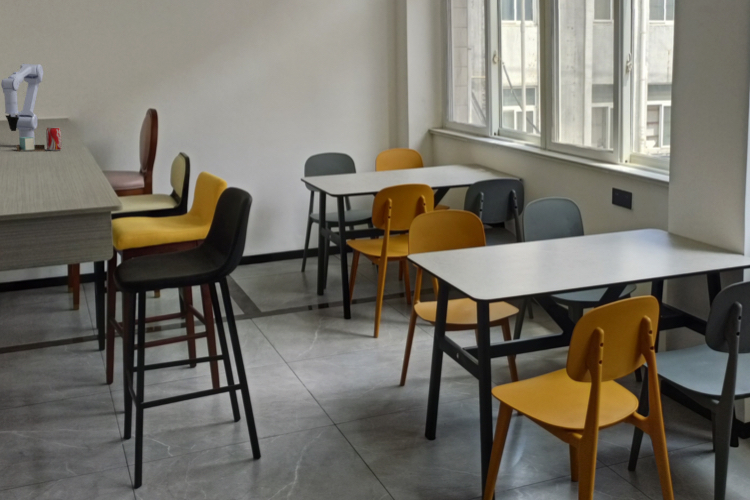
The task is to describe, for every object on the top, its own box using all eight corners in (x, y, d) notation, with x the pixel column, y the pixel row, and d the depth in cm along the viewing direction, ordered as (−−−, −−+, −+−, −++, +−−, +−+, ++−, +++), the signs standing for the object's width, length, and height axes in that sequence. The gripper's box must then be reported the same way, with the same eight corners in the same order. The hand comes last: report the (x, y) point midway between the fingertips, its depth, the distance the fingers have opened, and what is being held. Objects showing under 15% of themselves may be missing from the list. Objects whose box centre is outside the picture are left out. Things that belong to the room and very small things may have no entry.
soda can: (56, 151, 390) (55, 127, 387) (44, 150, 391) (42, 126, 388) (64, 150, 396) (63, 126, 393) (52, 149, 398) (51, 125, 395)
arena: (17, 149, 390) (16, 144, 390) (44, 149, 395) (44, 144, 395) (16, 151, 383) (16, 146, 383) (44, 151, 388) (44, 146, 388)
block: (20, 149, 387) (19, 137, 386) (29, 148, 391) (28, 136, 390) (25, 150, 384) (24, 138, 383) (34, 149, 388) (34, 137, 387)
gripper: (21, 104, 378) (23, 131, 381) (18, 101, 390) (20, 128, 394) (5, 103, 375) (7, 131, 378) (3, 101, 387) (5, 128, 390)
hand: (13, 130), depth 386 cm, fingers open, 7 cm apart
